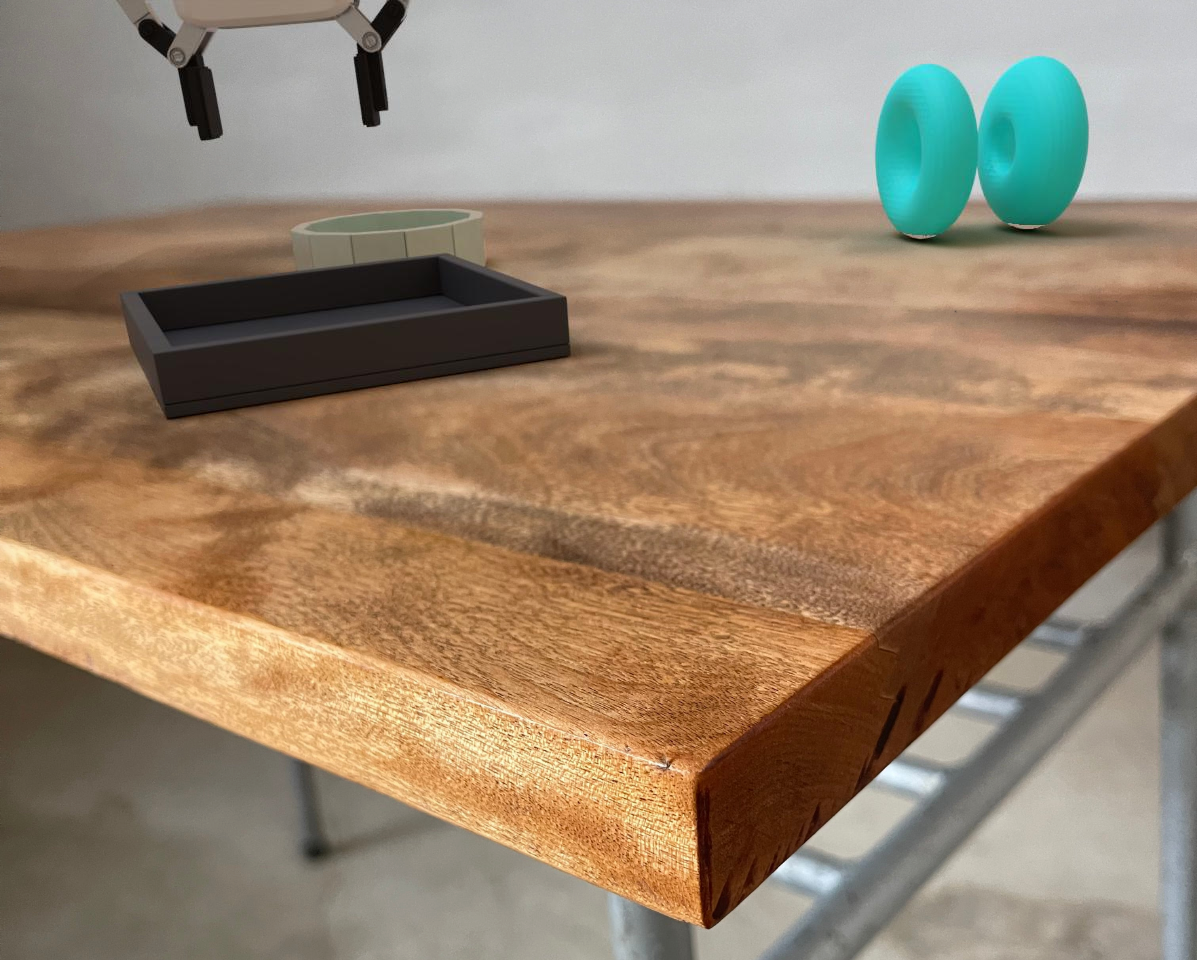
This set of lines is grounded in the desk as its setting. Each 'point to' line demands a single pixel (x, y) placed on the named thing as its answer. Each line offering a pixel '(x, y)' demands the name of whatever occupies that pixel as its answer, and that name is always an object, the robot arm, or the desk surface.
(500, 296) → the tray
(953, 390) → the desk surface
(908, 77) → the donuts
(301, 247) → the segmented polygonal ring
